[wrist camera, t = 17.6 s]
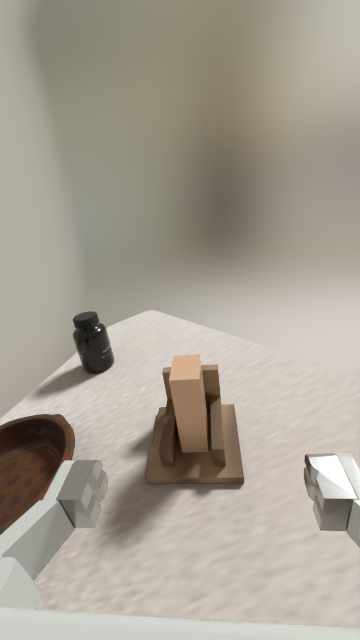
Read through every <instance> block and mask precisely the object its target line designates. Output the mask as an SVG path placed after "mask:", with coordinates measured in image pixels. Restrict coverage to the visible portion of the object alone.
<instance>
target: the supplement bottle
mask: <svg viewBox="0 0 360 640" xmlns="http://www.w3.org/2000/svg"><path fill="white" fill-rule="evenodd" d="M73 322H74V326H75V328H76V330H75V331H74V333H73V338H74V342H75V345H76V348H77V351H78V354H79V357H80V360H81V363H82V366H83V368H84V370H85V371H86V372H89V373H98V372H102V371H104V370H106V369H108V368H109V367H111V366H112V364H113V363H114V356H113V352H112V349H111V345H110V341H109V337H108V334H107V330H106V327H105V326H104V325H103V324H101V323H99V319H98V316H97V313H96V312H84V313H81V314H78V315H76V316H75V317H74V318H73Z"/></svg>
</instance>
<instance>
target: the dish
mask: <svg viewBox="0 0 360 640" xmlns="http://www.w3.org/2000/svg"><path fill="white" fill-rule="evenodd" d="M74 447H75V436H74V432H73V429H72V427H71V426H70V424H69V423H68V422H67V421H66V420H65V418H64V417H63V416H62V415H60V414H55V415H50V414H41V415H34V416H28V417H24V418H20V419H16V420H13V421H10V422H7V423H5V424H3V425H1V426H0V535H1V534H2V533H3V532H4V531H6V530H7V529H8V528H9V527H10V526H11V525H12V524H13V523H14V522H16V521H17V520H18V519H19V518H20V517H21V516H22V515H23V514H25V513H26V512H27V511H28V510H29V509H30V508H31V507H32V506H34V505H35V504H36V503H37V502H38V501H40V500H43V498H44V496H45V495H46V493H47V491H48V489H49V487H50V485H51V483H52V481H53V479H54V477H55V475H56V473H57V471H58V470H59V468H60V466H61V464H62V463H63V462H64V461H67V460H72V457H73V452H74Z"/></svg>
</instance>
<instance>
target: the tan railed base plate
mask: <svg viewBox="0 0 360 640" xmlns="http://www.w3.org/2000/svg"><path fill="white" fill-rule="evenodd" d="M170 372H171V367H168V368H163V372H162V373H163V378H164V384H165V389H166V394H167V399H168V400H167V406H166V407H161V408H159V412H158V417H157V422H156V427H155V432H154V437H153V442H152V447H151V451H150V456H149V461H148V466H147V471H146V476H145V480H146V483H244V475H243V468H242V460H241V453H240V446H239V438H238V431H237V423H236V416H235V409H234V404H232V405H221V398H220V386H219V375H218V365H202V374H203V382H204V391H205V399H206V408H207V416H208V446H209V452H182V448H181V443H180V438H179V432H178V427H177V421H176V416H175V411H174V405H173V400H172V394H171V389H170V384H169V378H170Z"/></svg>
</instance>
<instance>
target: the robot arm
mask: <svg viewBox="0 0 360 640" xmlns="http://www.w3.org/2000/svg"><path fill="white" fill-rule="evenodd" d="M305 463H306V467H305V468H304V480H305V485H306V489H307V492H308V495H309V497H310V498H311V499H312V500H313V501H314V506H313V511H314V513H315V516H316V519H317V522H318V525H319V528H320V530H326V531H347V534H348V535H349V536H350V537H351V538H352V539H353V541H354V542H355V543H356V544H357V545H358V546H359V547H360V469H359V467H358V466H357V464H356V462H355V460H354V458H353V456H352V455H351V454H350V453H338V454H334V453H325V454H306V455H305ZM102 466H103V465H102V463H101V461H100V460H67V461H64V462H63V463H62V464H61V466H60V468H59V470H58V471H57V473H56V475H55V477H54V479H53V481H52V483H51V485H50V487H49V489H48V491H47V493H46V495H45V496H44V498H43V500H40V501H38V502H37V503H36V504H35V505H34V506H32V507H31V508H30V509H29V510H28V511H27V512H26V513H25V514H23V515H22V516H21V517H20V518H19V519H18V520H17V521H16V522H14V523H13V524H12V525H11V526H10V527H9V528H8V529H7V530H6V531H4V532H3V533H2V534H1V535H0V640H360V629H358V628H341V627H325V626H308V625H291V624H275V623H258V622H242V621H225V620H209V619H192V618H175V617H159V616H142V615H126V614H109V613H92V612H76V611H59V610H42V609H37V606H38V603H39V601H40V598H41V596H42V592H41V589H40V588H39V587H38V586H37V584H36V583H35V582H34V580H35V578H36V577H37V576H38V575H39V573H40V572H41V571H42V570H43V568H44V567H45V566H46V565H47V563H48V562H49V561H50V560H51V558H52V557H53V556H54V555H55V553H56V552H57V551H58V550H59V548H60V547H61V546H62V545H63V543H64V542H65V541H66V540H67V538H68V537H69V536H70V535H71V534H72V532H73V531H74V530H75V529H74V528H95V526H96V523H97V520H98V517H99V514H100V511H101V508H100V504H99V503H100V502H101V501H102V500H103V499H104V498H105V495H106V492H107V486H108V478H107V474H106V472H104V471H103V470H102Z"/></svg>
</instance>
